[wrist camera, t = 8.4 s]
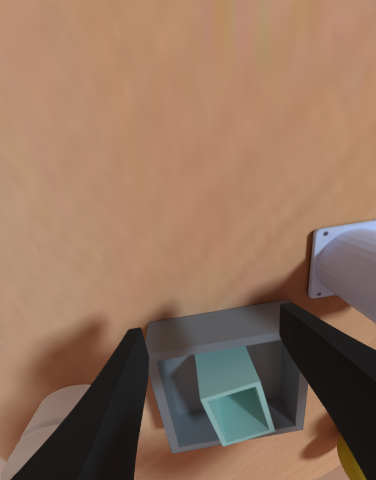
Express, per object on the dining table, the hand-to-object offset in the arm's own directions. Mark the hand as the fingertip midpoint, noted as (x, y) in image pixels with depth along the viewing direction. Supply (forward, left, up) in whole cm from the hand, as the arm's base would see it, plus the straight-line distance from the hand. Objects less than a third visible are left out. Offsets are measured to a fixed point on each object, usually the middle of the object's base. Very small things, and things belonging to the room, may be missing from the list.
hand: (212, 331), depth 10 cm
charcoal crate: (-2, +15, -9) cm, 18 cm away
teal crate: (-2, +15, -9) cm, 17 cm away
